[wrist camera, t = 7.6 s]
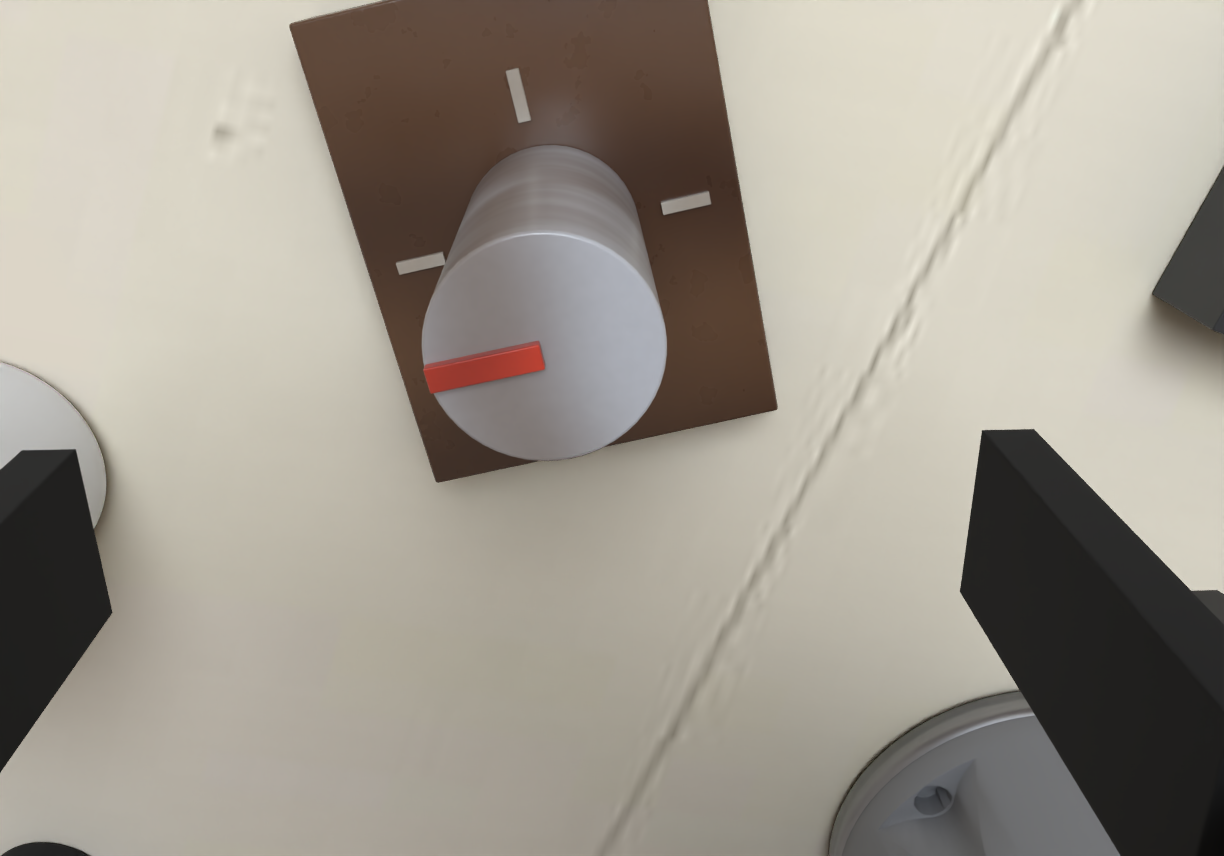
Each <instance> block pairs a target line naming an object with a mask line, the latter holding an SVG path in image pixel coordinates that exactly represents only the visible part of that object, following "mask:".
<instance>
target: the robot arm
mask: <svg viewBox="0 0 1224 856" xmlns="http://www.w3.org/2000/svg"><path fill="white" fill-rule="evenodd" d="M960 593H961V594H962V596H963V598H964V599H965V601H966V602H967V604H968V606H969V607H970V609H971V611H972V612H973V614H974V616H975V617H976V619H977V621H978V622H979V624H980V625H981V627H982V629H983V630H984V632H985V634H986V635H987V637H988V639H989V640H990V642H991V644H992V645H993V647H994V649H995V650H996V652H997V653H998V655H999V657H1000V658H1001V660H1002V662H1003V663H1004V665H1005V667H1006V668H1007V670H1008V672H1009V673H1010V675H1011V676H1012V678H1013V680H1014V681H1015V683H1016V685H1017V686H1018V688H1019V690H1020V691H1019V692H1012V693H1006V694H1001V695H996V696H992V697H988V698H984V699H980V700H977V701H974V702H971V703H967V704H964V705H962V706H959V707H957V708H954V709H952V710H949V711H947V712H945V713H943V714H940V715H938V716H936V717H934V718H932V719H930V720H928V721H927V722H925V723H923V724H921V725H920V726H918V727H916V728H915V729H913V730H911V731H910V732H908V733H907V734H906V735H904V736H903V737H901V738H900V739H898V740H897V741H896V742H895V743H893V744H892V745H891V746H890V747H888V748H887V749H886V750H885V751H884V752H882V753H881V754H880V755H879V756H878V757H877V758H876V759H875V760H874V761H873V762H872V763H871V764H870V765H869V767H868V768H867V769H866V770H865V771H864V772H863V774H862V775H861V776H860V777H859V778H858V780H857V781H856V783H855V784H854V786H853V787H852V788H851V790H850V791H849V793H848V795H847V797H846V798H845V800H844V802H843V804H842V806H841V808H840V811H839V813H838V815H837V818H836V820H835V824H834V827H833V831H832V834H831V840H830V846H829V856H1224V594H1223V593H1221V592H1219V591H1217V590H1207V591H1191V590H1190V589H1189V588H1188V587H1187V586H1186V585H1185V584H1184V583H1183V582H1182V581H1181V580H1180V579H1179V578H1178V577H1177V576H1176V575H1175V574H1174V573H1173V572H1172V571H1171V570H1170V569H1169V568H1168V567H1167V566H1166V565H1165V564H1164V563H1163V561H1162V560H1161V559H1160V558H1159V557H1158V556H1157V555H1156V554H1155V553H1154V552H1153V551H1152V550H1151V549H1150V548H1149V547H1148V546H1147V545H1146V544H1145V543H1144V542H1143V541H1142V540H1141V539H1140V538H1139V537H1138V536H1137V535H1136V534H1135V533H1134V532H1133V531H1132V530H1131V529H1130V528H1129V527H1128V526H1127V524H1126V523H1125V522H1124V521H1123V520H1122V519H1121V518H1120V517H1119V516H1118V515H1117V514H1116V513H1115V512H1114V511H1113V510H1112V509H1111V508H1110V507H1109V506H1108V505H1107V504H1106V503H1105V502H1104V501H1103V500H1102V499H1101V498H1100V497H1099V496H1098V495H1097V494H1096V493H1095V492H1094V491H1093V490H1092V489H1091V488H1090V486H1089V485H1088V484H1087V483H1086V482H1085V481H1084V480H1083V479H1082V478H1081V477H1080V476H1079V475H1078V474H1077V473H1076V472H1075V471H1074V470H1073V469H1072V468H1071V467H1070V466H1069V465H1068V464H1067V463H1066V462H1065V461H1064V460H1063V459H1062V458H1061V457H1060V456H1059V455H1058V454H1057V453H1056V452H1055V451H1054V449H1053V448H1052V447H1051V446H1050V445H1049V444H1048V443H1047V442H1046V441H1045V440H1044V439H1043V438H1042V437H1041V436H1040V435H1039V434H1038V433H1037V432H1036V431H1035V430H1034V429H1024V430H982V435H981V443H980V450H979V457H978V464H977V472H976V479H975V486H974V494H973V501H972V508H971V515H970V523H969V530H968V537H967V545H966V552H965V559H964V566H963V574H962V581H961V588H960ZM111 614H112V609H111V604H110V600H109V595H108V591H107V586H106V582H105V577H104V573H103V568H102V564H101V559H100V555H99V550H98V546H97V542H96V537H95V533H94V528H93V524H92V519H91V515H90V510H89V506H88V501H87V497H86V492H85V488H84V483H83V479H82V474H81V470H80V465H79V461H78V456H77V452H76V449H60V450H22V451H20V452H19V453H18V454H17V455H16V456H15V457H14V458H13V459H12V460H10V461H9V462H8V463H7V464H6V465H5V466H4V467H3V468H1V469H0V772H1V771H2V769H3V768H4V766H5V765H6V763H7V762H8V761H9V759H10V758H11V756H12V755H13V754H14V752H15V751H16V749H17V748H18V746H19V745H20V744H21V742H22V741H23V739H24V738H25V736H26V735H27V734H28V732H29V731H30V729H31V728H32V726H33V725H34V724H35V722H36V721H37V719H38V718H39V716H40V715H41V714H42V712H43V711H44V709H45V708H46V707H47V705H48V704H49V702H50V701H51V699H52V698H53V697H54V695H55V694H56V692H57V691H58V689H59V688H60V687H61V685H62V684H63V682H64V681H65V679H66V678H67V677H68V675H69V674H70V672H71V671H72V669H73V668H74V667H75V665H76V664H77V662H78V661H79V660H80V658H81V657H82V655H83V654H84V652H85V651H86V650H87V648H88V647H89V645H90V644H91V642H92V641H93V640H94V638H95V637H96V635H97V634H98V632H99V631H100V630H101V628H102V627H103V625H104V624H105V622H106V621H107V620H108V618H109V617H110V615H111Z"/></svg>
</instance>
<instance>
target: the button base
mask: <svg viewBox="0 0 1224 856" xmlns="http://www.w3.org/2000/svg"><path fill="white" fill-rule="evenodd" d="M1153 295H1155V296H1156V297H1158V298H1160V299H1161V300H1163V301H1165V302H1166V303H1168V304H1170V305H1171V306H1173V307H1175V308H1176V309H1178V310H1180V311H1181V312H1183V313H1185V314H1186V315H1188V316H1190V317H1191V318H1193V319H1195V320H1196V321H1198V322H1200V323H1201V324H1203V325H1205V326H1206V327H1208V328H1210V329H1211V330H1213V331H1216V332H1218V333H1221V334H1224V168H1223V170H1222V171H1221V173H1220V175H1219V177H1218V179H1217V180H1216V182H1215V184H1214V186H1213V187H1212V189H1211V191H1210V193H1209V194H1208V196H1207V198H1206V200H1205V201H1204V203H1203V205H1202V207H1201V209H1200V210H1199V212H1198V214H1197V216H1196V217H1195V219H1194V221H1193V223H1192V224H1191V226H1190V228H1189V230H1188V231H1187V233H1186V235H1185V237H1184V238H1183V240H1182V242H1181V244H1180V246H1179V247H1178V249H1177V251H1176V253H1175V254H1174V256H1173V258H1172V260H1171V261H1170V263H1169V265H1168V267H1167V268H1166V270H1165V272H1164V274H1163V275H1162V277H1161V279H1160V281H1159V283H1158V284H1157V286H1156V288H1155V290H1154V291H1153Z"/></svg>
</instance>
